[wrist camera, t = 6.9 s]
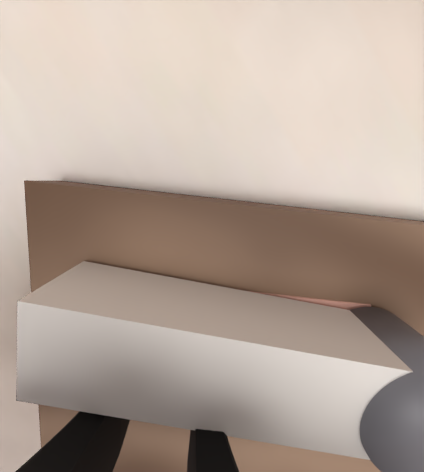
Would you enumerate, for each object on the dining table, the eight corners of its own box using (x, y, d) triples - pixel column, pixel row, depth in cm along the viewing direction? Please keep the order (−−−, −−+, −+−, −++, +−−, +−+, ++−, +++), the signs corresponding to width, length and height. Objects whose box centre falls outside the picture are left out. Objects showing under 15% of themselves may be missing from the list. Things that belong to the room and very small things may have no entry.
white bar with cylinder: (423, 316, 9) (533, 386, 6) (390, 394, 10) (471, 492, 7) (84, 253, 9) (10, 293, 6) (77, 338, 9) (10, 416, 6)
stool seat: (343, 491, 14) (364, 543, 12) (69, 463, 14) (44, 511, 12) (428, 221, 10) (479, 231, 8) (60, 180, 10) (22, 180, 8)
